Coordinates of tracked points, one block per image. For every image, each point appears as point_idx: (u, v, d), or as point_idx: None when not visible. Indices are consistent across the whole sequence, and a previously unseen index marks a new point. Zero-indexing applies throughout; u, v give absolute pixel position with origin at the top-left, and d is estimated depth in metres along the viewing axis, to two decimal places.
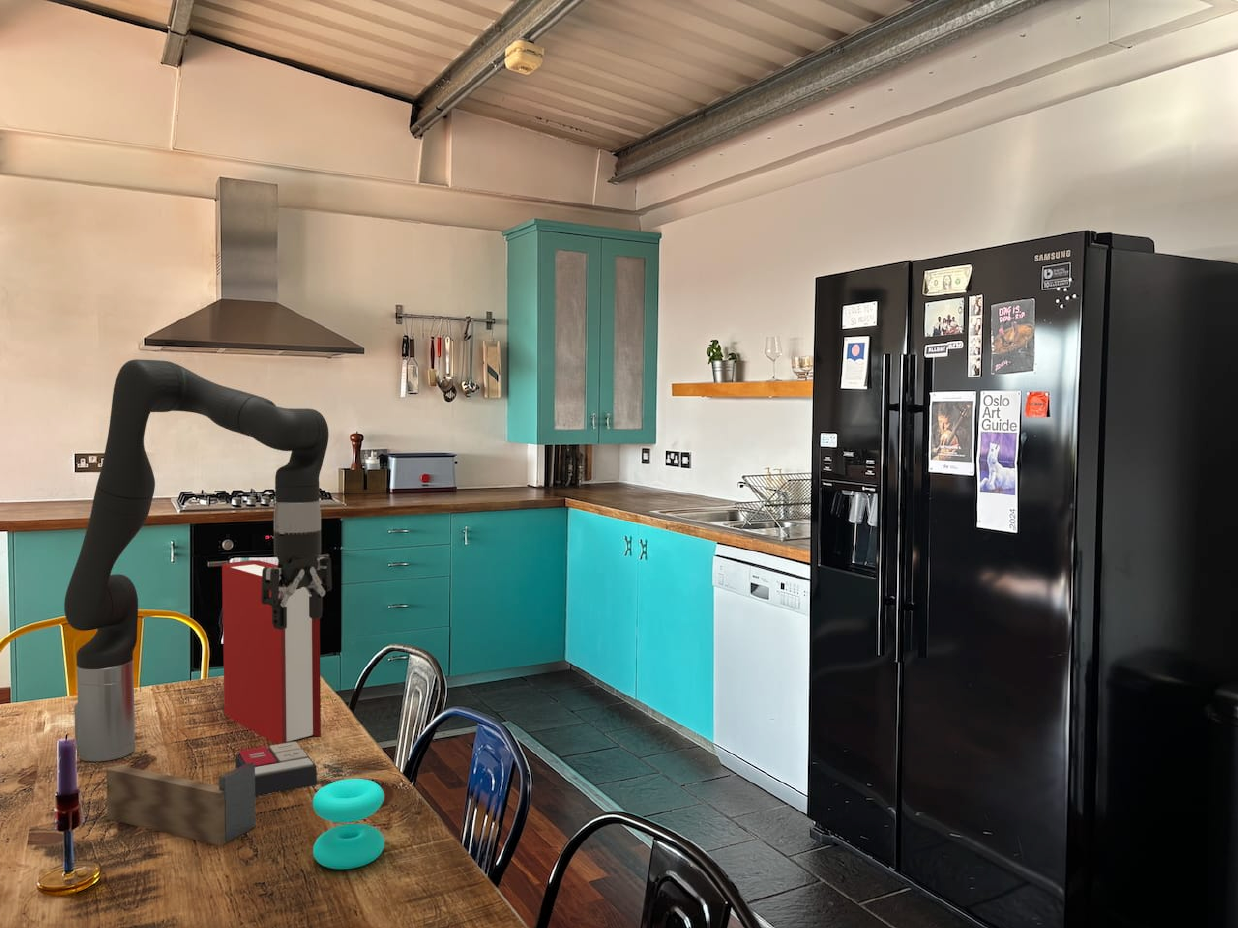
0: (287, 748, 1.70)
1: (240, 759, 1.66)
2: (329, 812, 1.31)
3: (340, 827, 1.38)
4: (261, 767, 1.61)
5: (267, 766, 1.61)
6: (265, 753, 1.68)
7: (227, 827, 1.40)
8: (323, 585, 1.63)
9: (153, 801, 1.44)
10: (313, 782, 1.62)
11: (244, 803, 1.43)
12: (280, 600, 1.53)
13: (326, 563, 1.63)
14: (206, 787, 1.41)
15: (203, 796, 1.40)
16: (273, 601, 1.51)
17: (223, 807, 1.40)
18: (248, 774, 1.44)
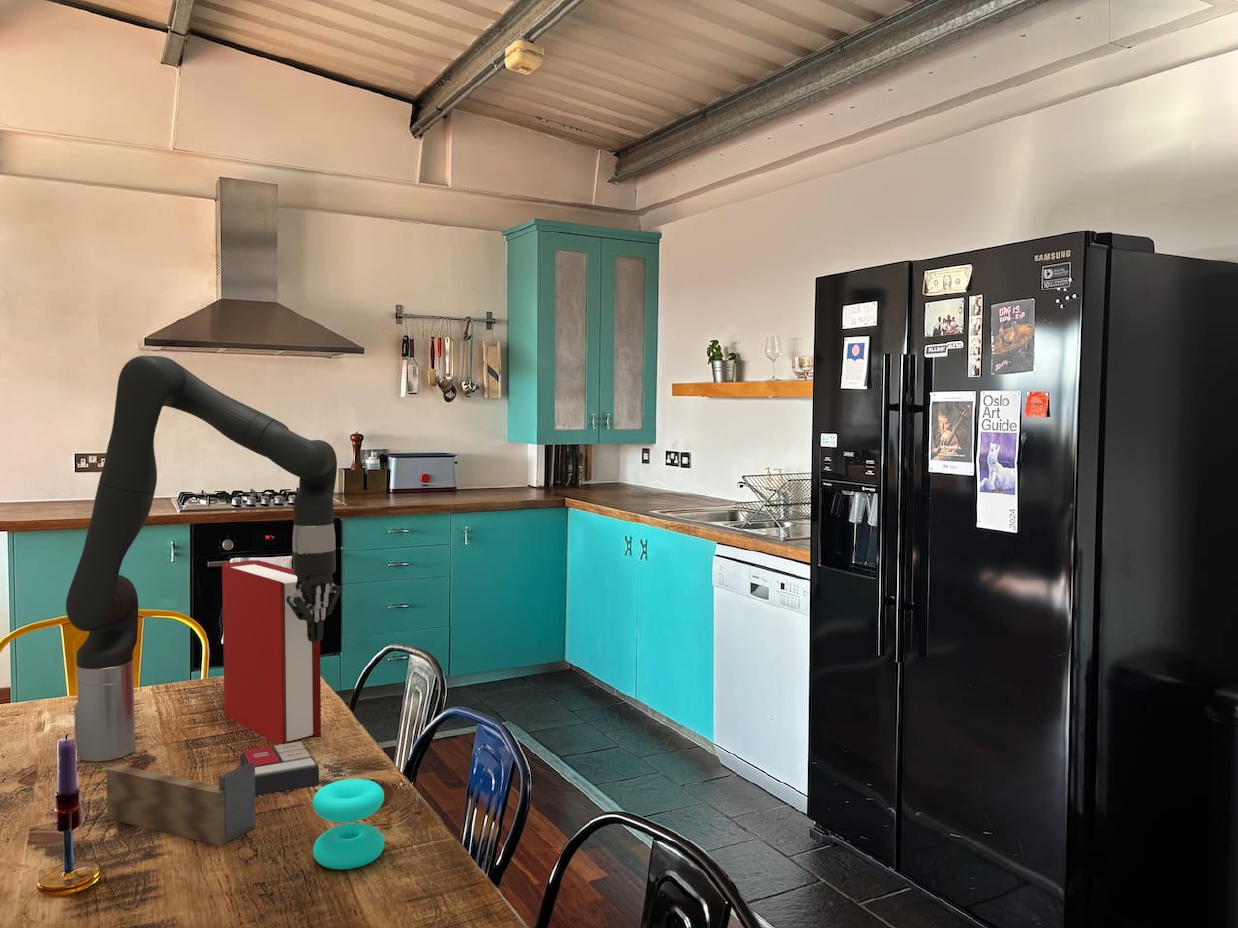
0: (291, 748, 1.70)
1: (244, 758, 1.67)
2: (329, 812, 1.31)
3: (340, 827, 1.38)
4: (264, 767, 1.61)
5: (270, 766, 1.61)
6: (269, 753, 1.68)
7: (227, 827, 1.40)
8: None
9: (153, 801, 1.44)
10: (315, 783, 1.62)
11: (244, 803, 1.43)
12: (313, 618, 1.73)
13: (337, 589, 1.78)
14: (206, 787, 1.41)
15: (203, 796, 1.40)
16: (308, 617, 1.71)
17: (223, 807, 1.40)
18: (248, 774, 1.44)
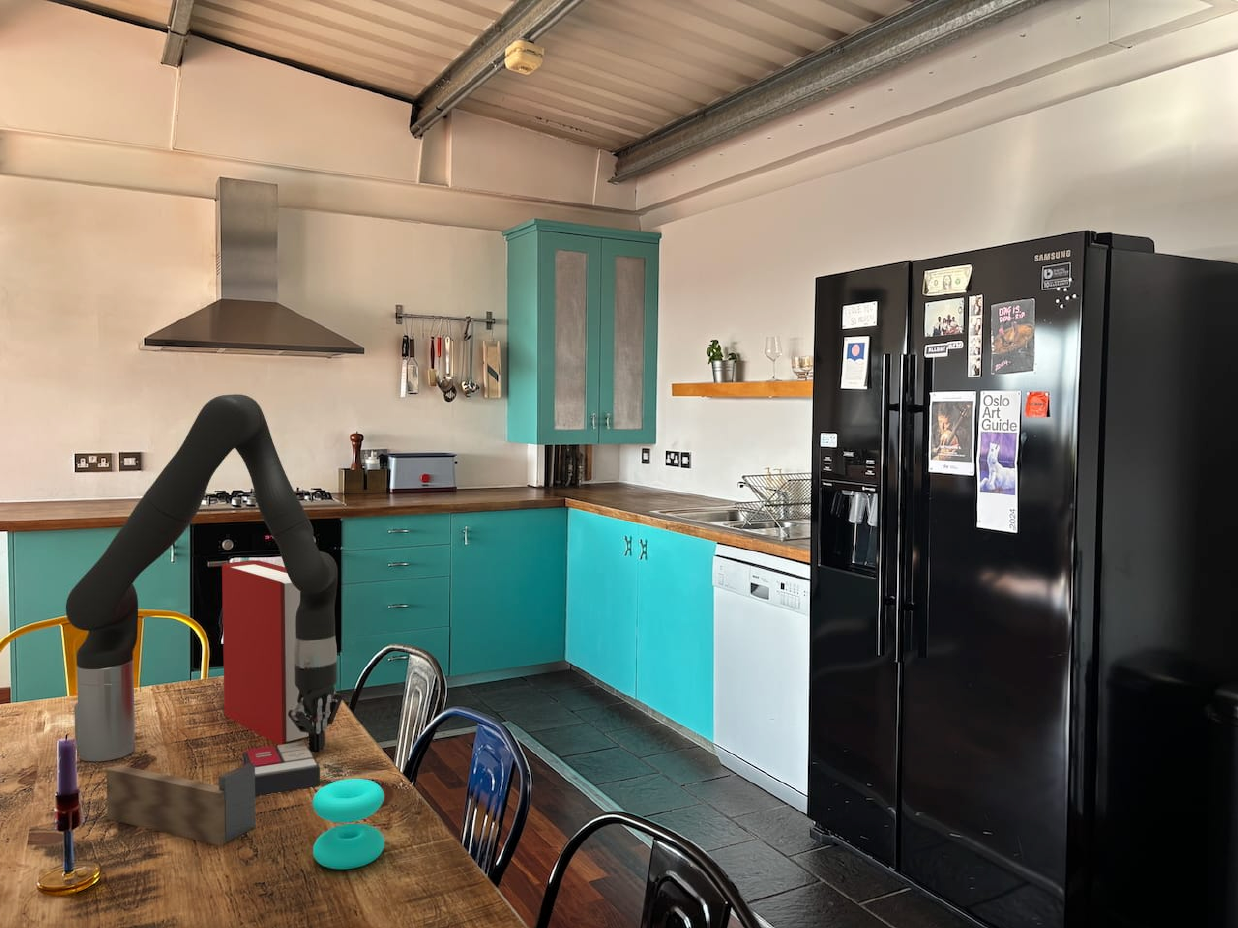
0: (294, 748, 1.70)
1: (247, 758, 1.67)
2: (329, 812, 1.31)
3: (340, 827, 1.38)
4: (265, 766, 1.61)
5: (271, 766, 1.61)
6: (271, 753, 1.68)
7: (227, 827, 1.40)
8: None
9: (153, 801, 1.44)
10: (316, 783, 1.62)
11: (244, 803, 1.43)
12: (315, 730, 1.74)
13: (338, 698, 1.80)
14: (206, 787, 1.41)
15: (203, 796, 1.40)
16: (310, 730, 1.73)
17: (223, 807, 1.40)
18: (248, 774, 1.44)
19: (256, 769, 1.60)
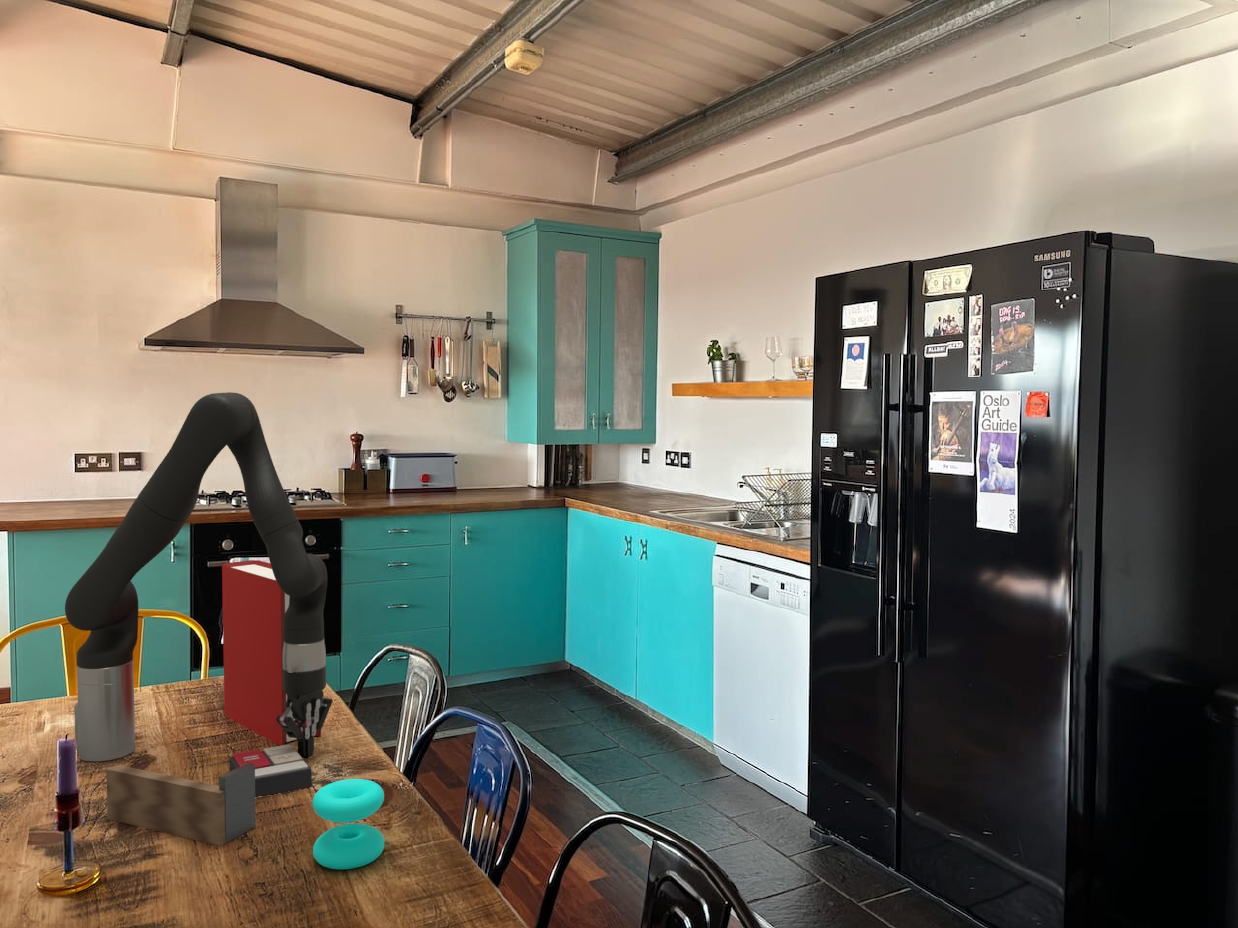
0: (281, 751, 1.69)
1: (234, 762, 1.65)
2: (329, 812, 1.31)
3: (340, 827, 1.38)
4: (255, 770, 1.60)
5: (262, 769, 1.60)
6: (259, 756, 1.66)
7: (227, 827, 1.40)
8: None
9: (153, 801, 1.44)
10: (308, 785, 1.61)
11: (244, 803, 1.43)
12: (304, 735, 1.71)
13: (327, 702, 1.77)
14: (206, 787, 1.41)
15: (203, 796, 1.40)
16: (299, 735, 1.70)
17: (223, 807, 1.40)
18: (248, 774, 1.44)
19: None
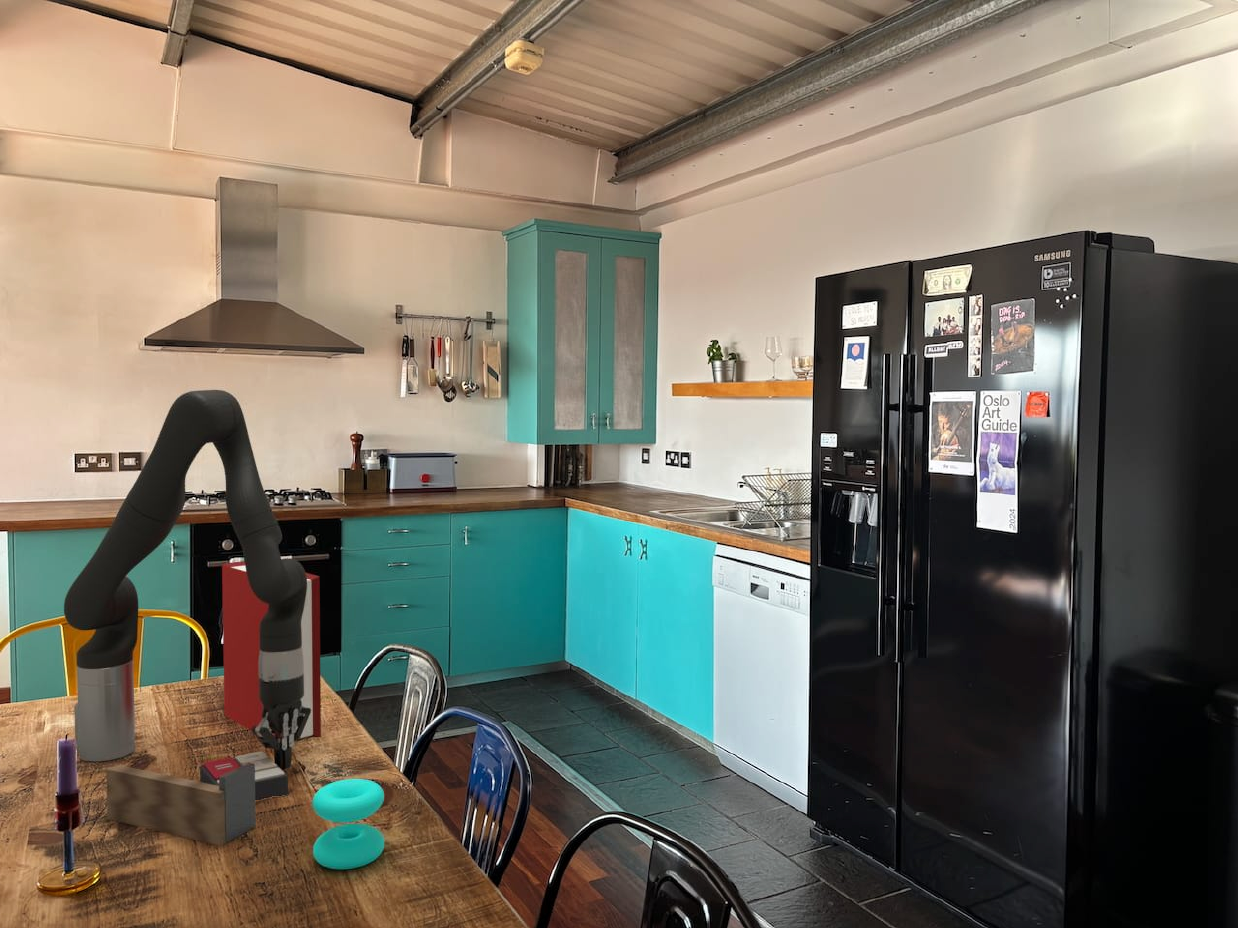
0: (254, 758, 1.65)
1: (206, 771, 1.61)
2: (329, 812, 1.31)
3: (340, 827, 1.38)
4: None
5: None
6: (232, 764, 1.63)
7: (227, 827, 1.40)
8: None
9: (153, 801, 1.44)
10: (285, 792, 1.58)
11: (244, 803, 1.43)
12: (280, 746, 1.66)
13: (306, 712, 1.71)
14: (206, 787, 1.41)
15: (203, 796, 1.40)
16: (275, 746, 1.64)
17: (223, 807, 1.40)
18: (248, 774, 1.44)
19: None
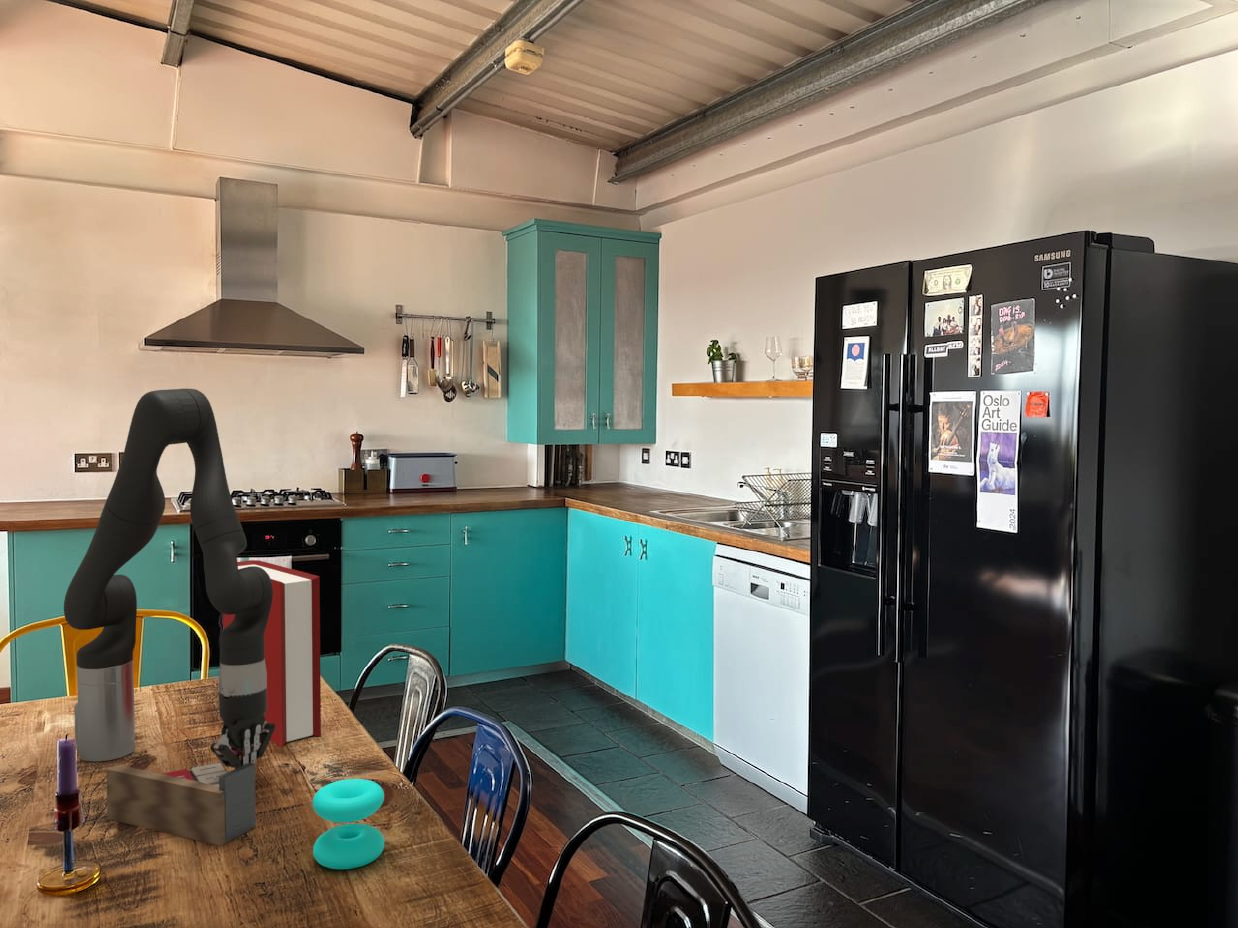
0: (210, 770, 1.60)
1: None
2: (329, 812, 1.31)
3: (340, 827, 1.38)
4: None
5: None
6: (186, 776, 1.57)
7: (227, 827, 1.40)
8: None
9: (153, 801, 1.44)
10: None
11: (244, 803, 1.43)
12: (242, 764, 1.57)
13: (270, 728, 1.63)
14: (206, 787, 1.41)
15: (203, 796, 1.40)
16: (236, 764, 1.56)
17: (223, 807, 1.40)
18: (248, 774, 1.44)
19: None
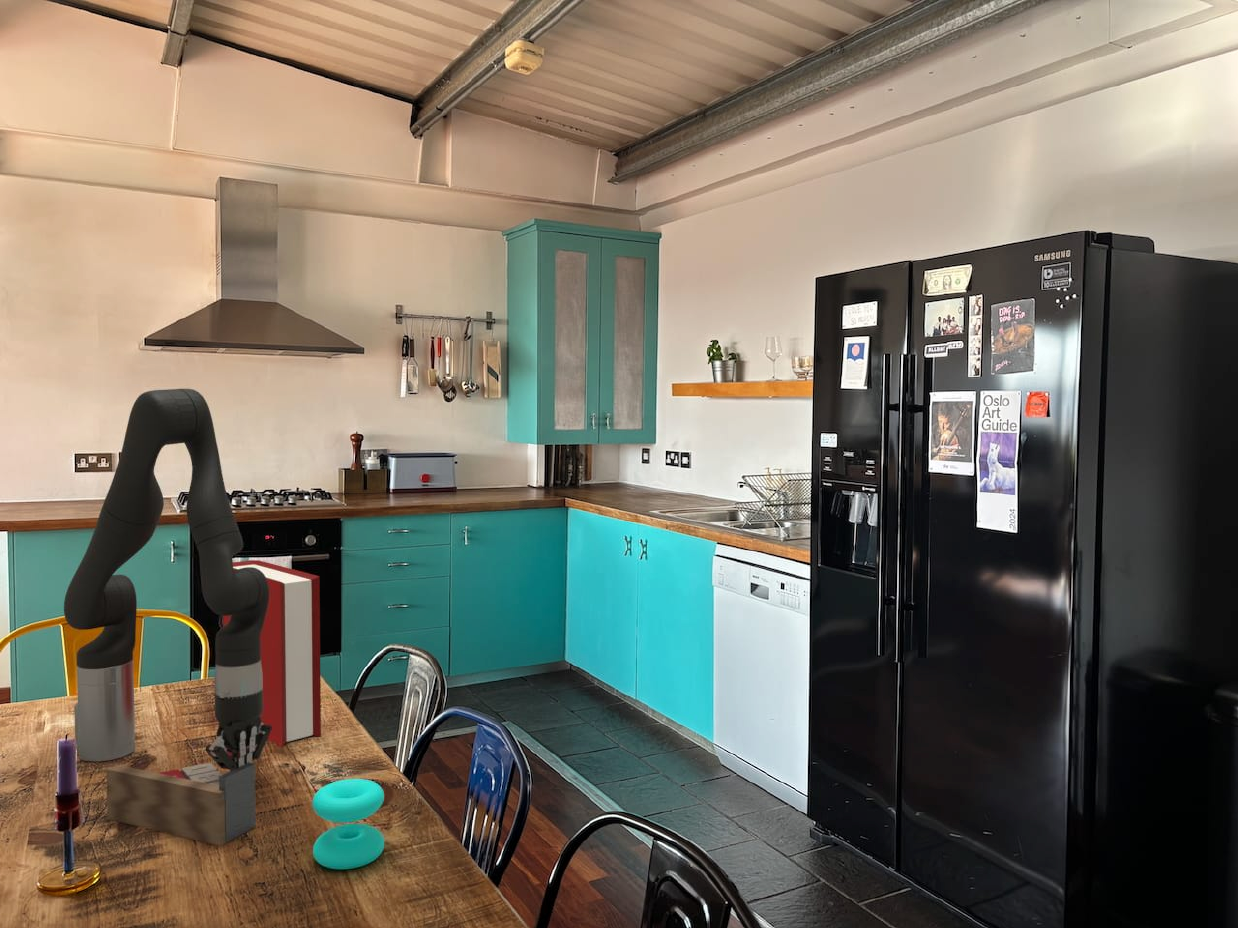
0: (202, 770, 1.60)
1: None
2: (329, 812, 1.31)
3: (340, 827, 1.38)
4: None
5: None
6: (178, 776, 1.57)
7: (227, 827, 1.40)
8: None
9: (153, 801, 1.44)
10: None
11: (244, 803, 1.43)
12: (237, 766, 1.57)
13: (266, 729, 1.62)
14: (206, 787, 1.41)
15: (203, 796, 1.40)
16: (231, 766, 1.55)
17: (223, 807, 1.40)
18: (248, 774, 1.44)
19: None
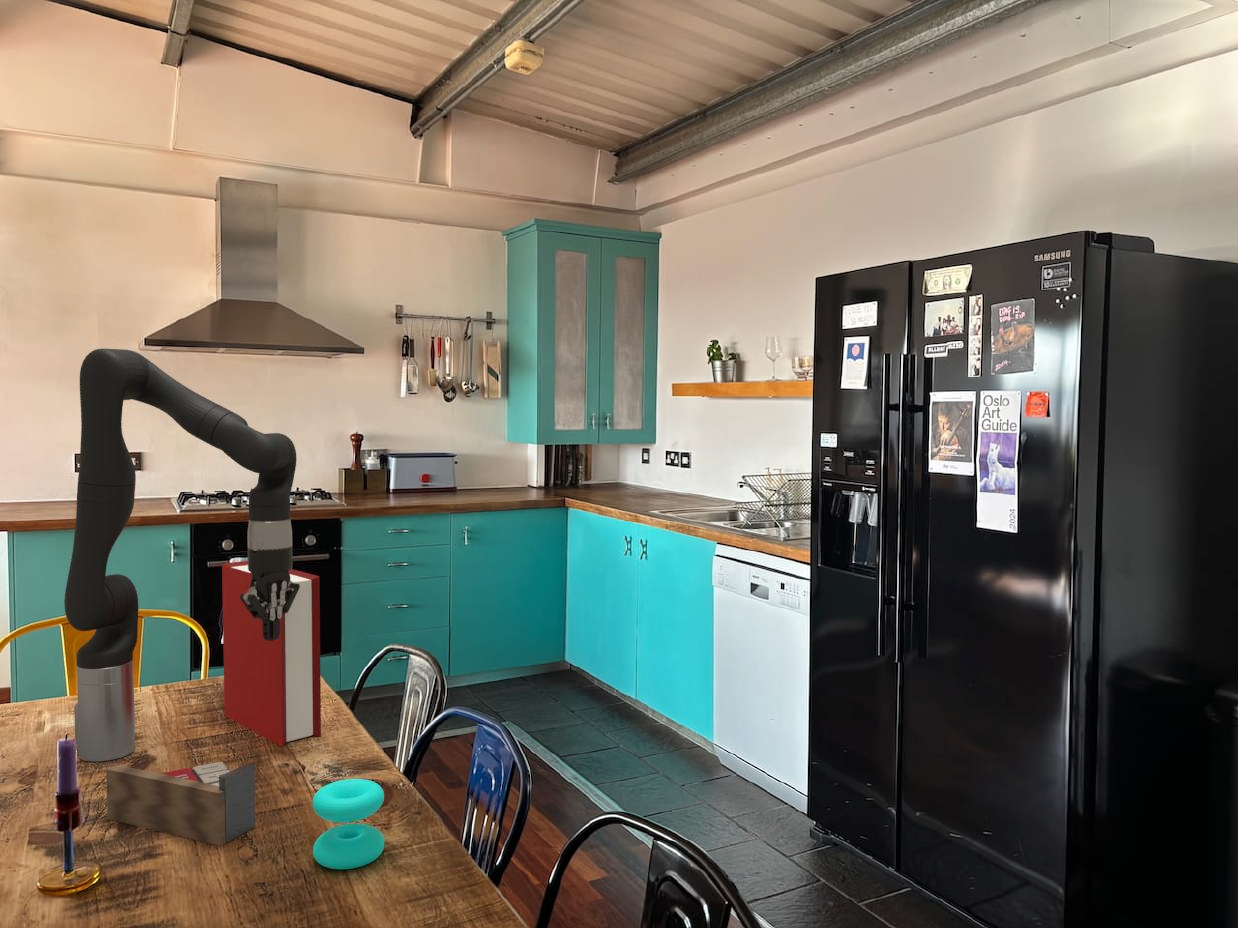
0: (212, 769, 1.60)
1: None
2: (329, 812, 1.31)
3: (340, 827, 1.38)
4: None
5: None
6: (188, 775, 1.57)
7: (227, 827, 1.40)
8: None
9: (153, 801, 1.44)
10: None
11: (244, 803, 1.43)
12: (269, 617, 1.68)
13: (294, 587, 1.73)
14: (206, 787, 1.41)
15: (203, 796, 1.40)
16: (263, 615, 1.66)
17: (223, 807, 1.40)
18: (248, 774, 1.44)
19: None
